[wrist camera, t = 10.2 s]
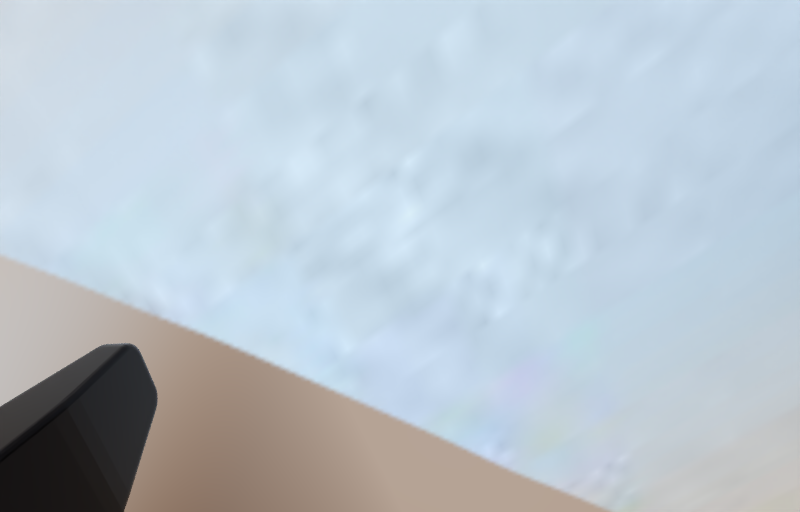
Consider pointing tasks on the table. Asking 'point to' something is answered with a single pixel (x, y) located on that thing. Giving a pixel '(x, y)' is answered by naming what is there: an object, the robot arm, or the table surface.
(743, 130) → the table surface
